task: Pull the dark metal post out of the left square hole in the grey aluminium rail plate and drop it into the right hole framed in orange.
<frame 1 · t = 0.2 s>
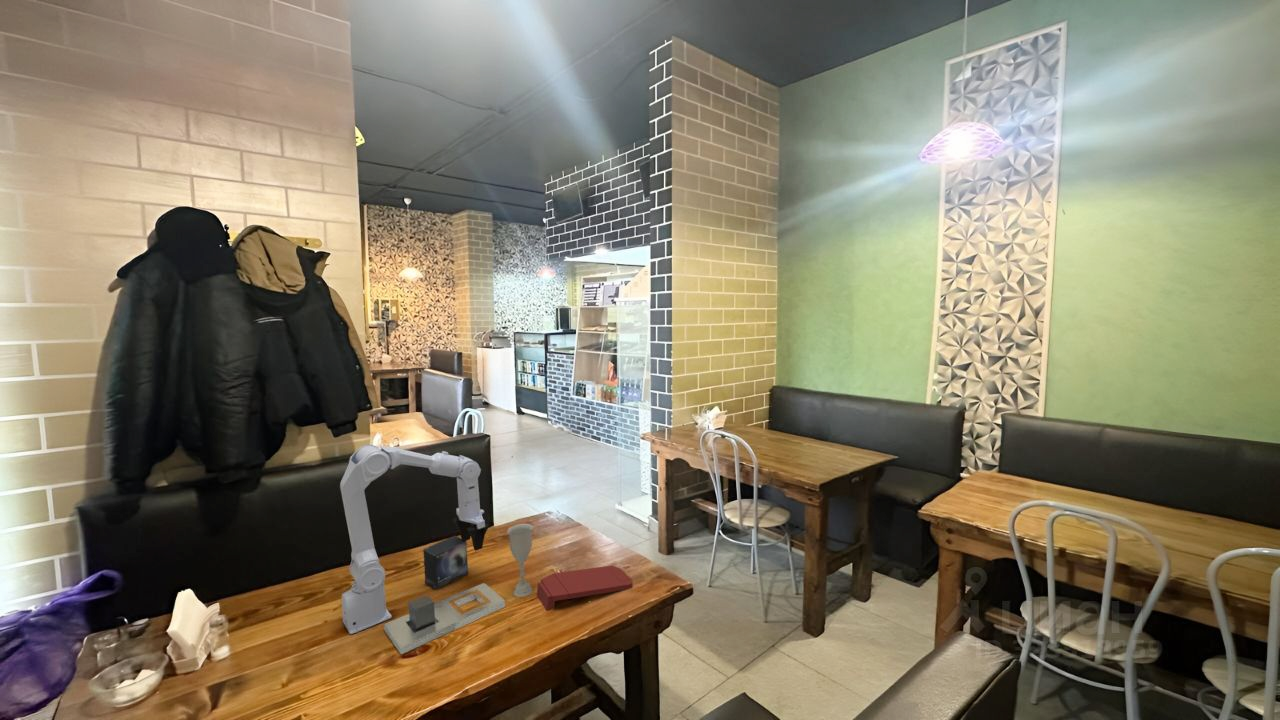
hand: (472, 544, 142), 10 cm above the table, tool pointing down, fingers open, 7 cm apart
rail plate: (447, 618, 125), on the table
post: (422, 629, 121), resting in rail plate
carton: (585, 591, 137), on the table
small box: (447, 579, 144), on the table, touching gripper
chalice: (523, 592, 136), on the table
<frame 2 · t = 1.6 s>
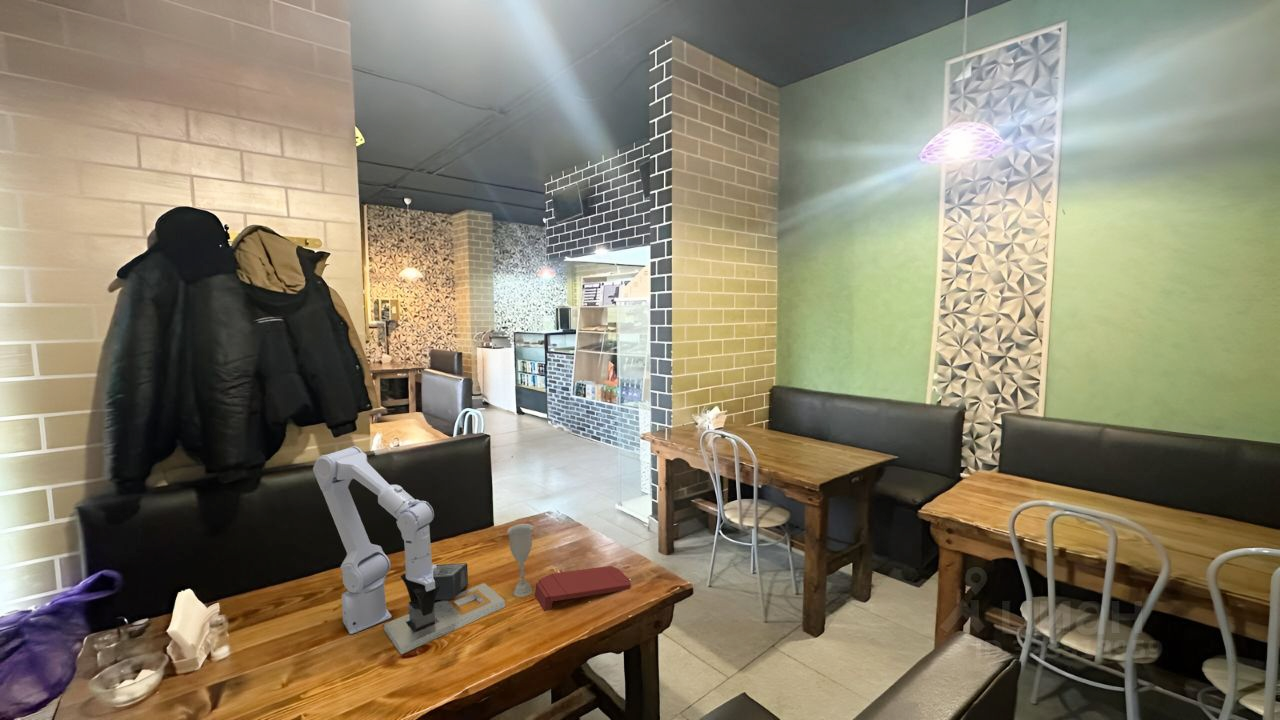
hand: (421, 607, 120), 6 cm above the table, tool pointing down, fingers open, 7 cm apart
small box: (450, 575, 140), point 3 cm above the table, touching rail plate
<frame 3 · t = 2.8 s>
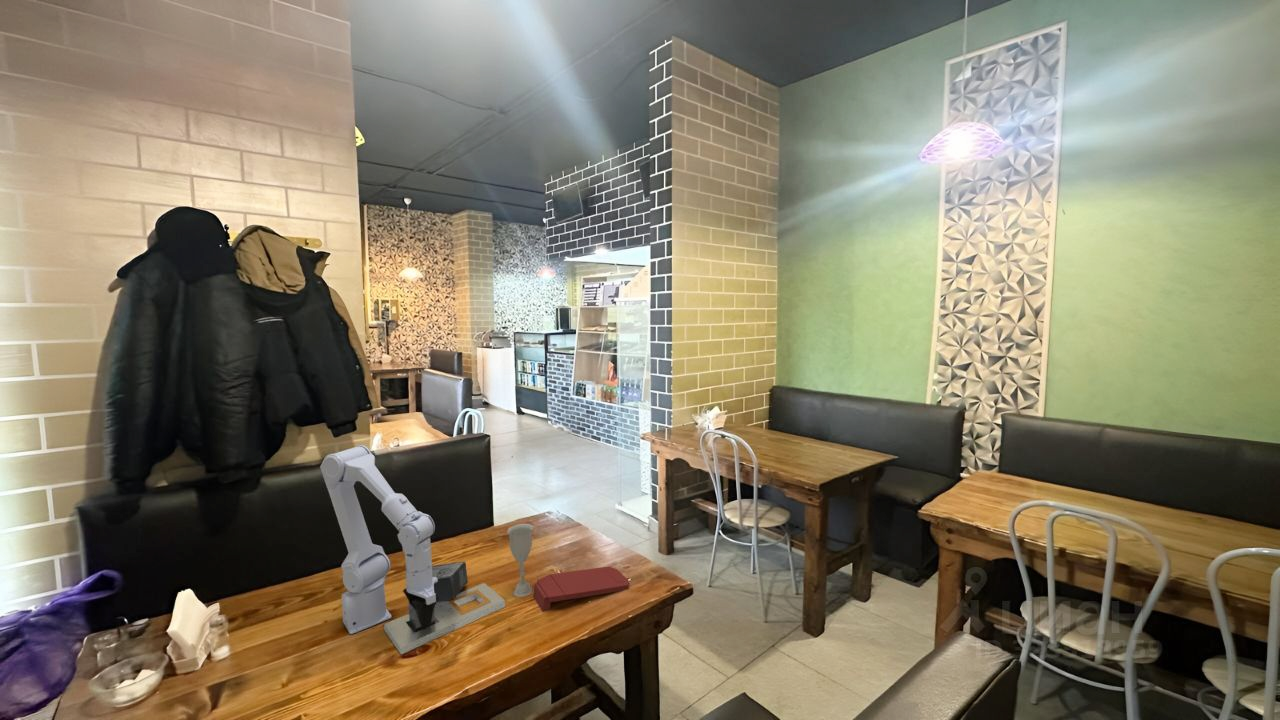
hand: (422, 619, 120), 2 cm above the table, tool pointing down, fingers closed on post, 4 cm apart
post: (422, 629, 121), resting in rail plate, touching gripper
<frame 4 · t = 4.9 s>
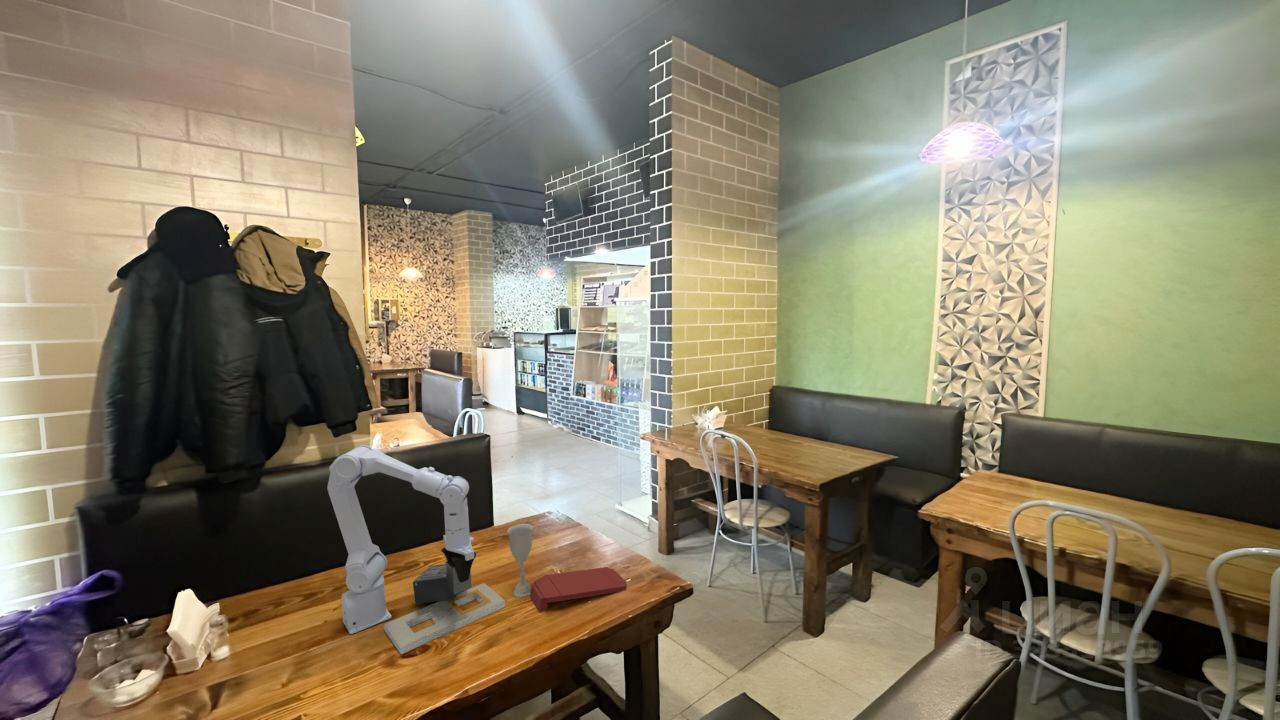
hand: (460, 577, 126), 10 cm above the table, tool pointing down, fingers closed on post, 4 cm apart
post: (459, 587, 126), point 7 cm above the table, touching gripper
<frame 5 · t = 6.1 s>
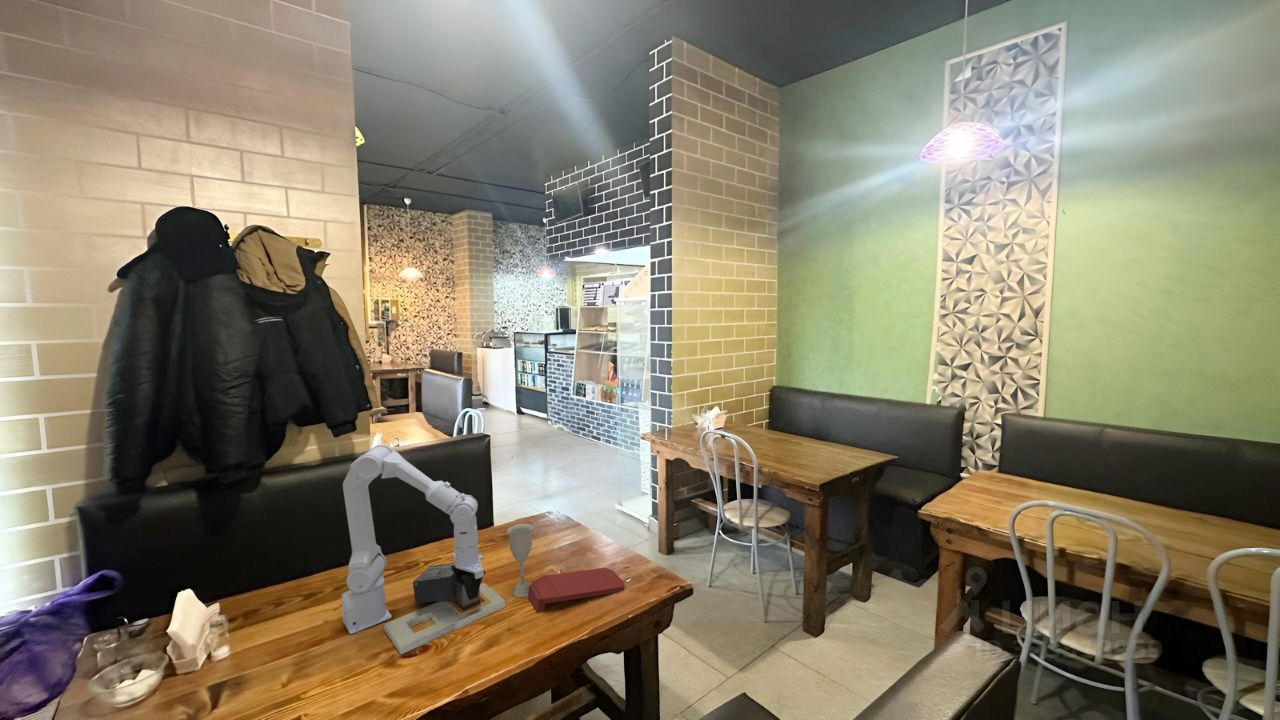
hand: (469, 594, 128), 4 cm above the table, tool pointing down, fingers closed on post, 4 cm apart
post: (468, 604, 128), point 1 cm above the table, touching gripper
when the fingers open (3 cm above the table, at t = 7.1 s): post stays where it is, resting in rail plate.
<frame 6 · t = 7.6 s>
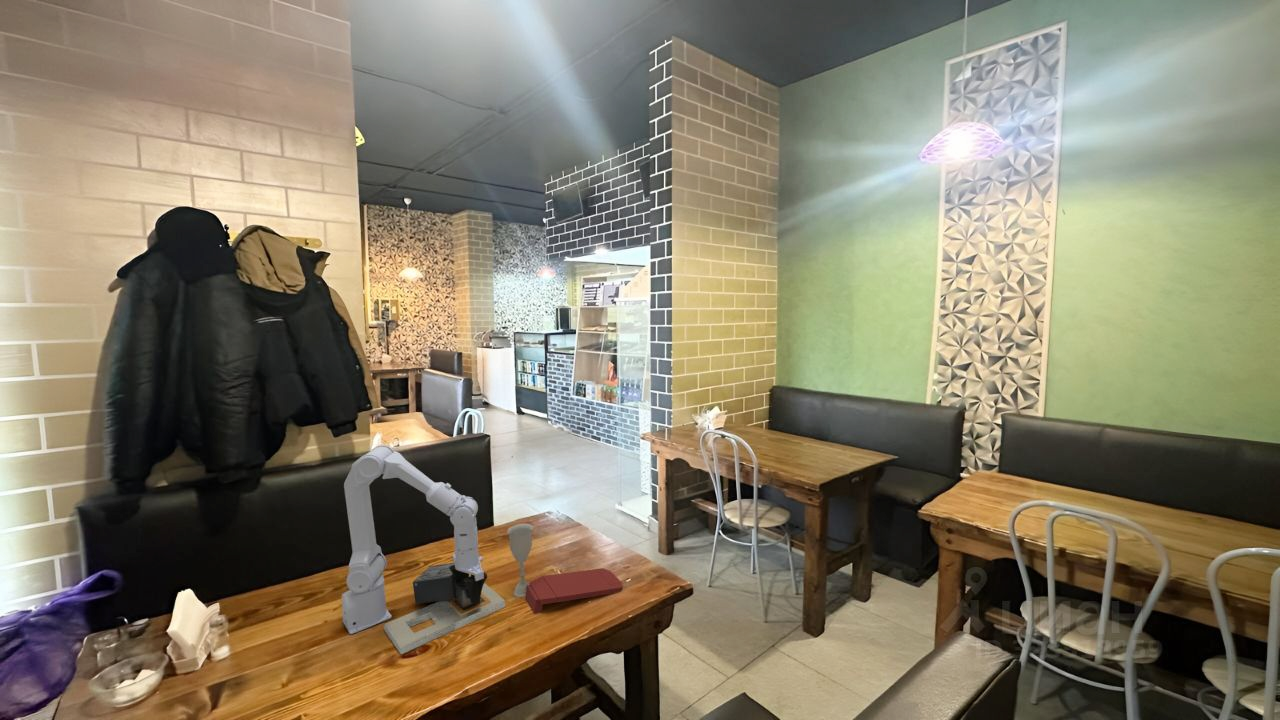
hand: (469, 596, 128), 3 cm above the table, tool pointing down, fingers open, 7 cm apart
post: (468, 609, 129), resting in rail plate
small box: (449, 574, 140), point 3 cm above the table, touching gripper, rail plate
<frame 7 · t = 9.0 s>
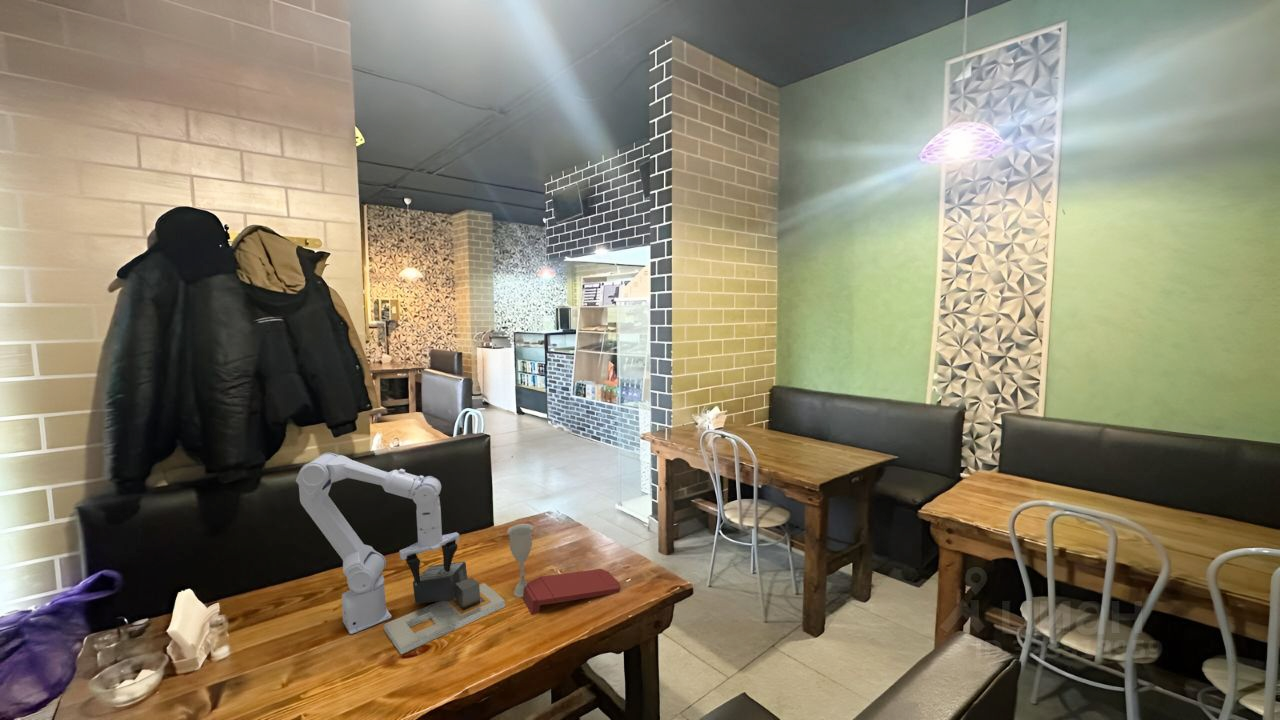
hand: (432, 576, 127), 9 cm above the table, tool pointing down, fingers open, 7 cm apart
small box: (449, 574, 140), point 3 cm above the table, touching rail plate
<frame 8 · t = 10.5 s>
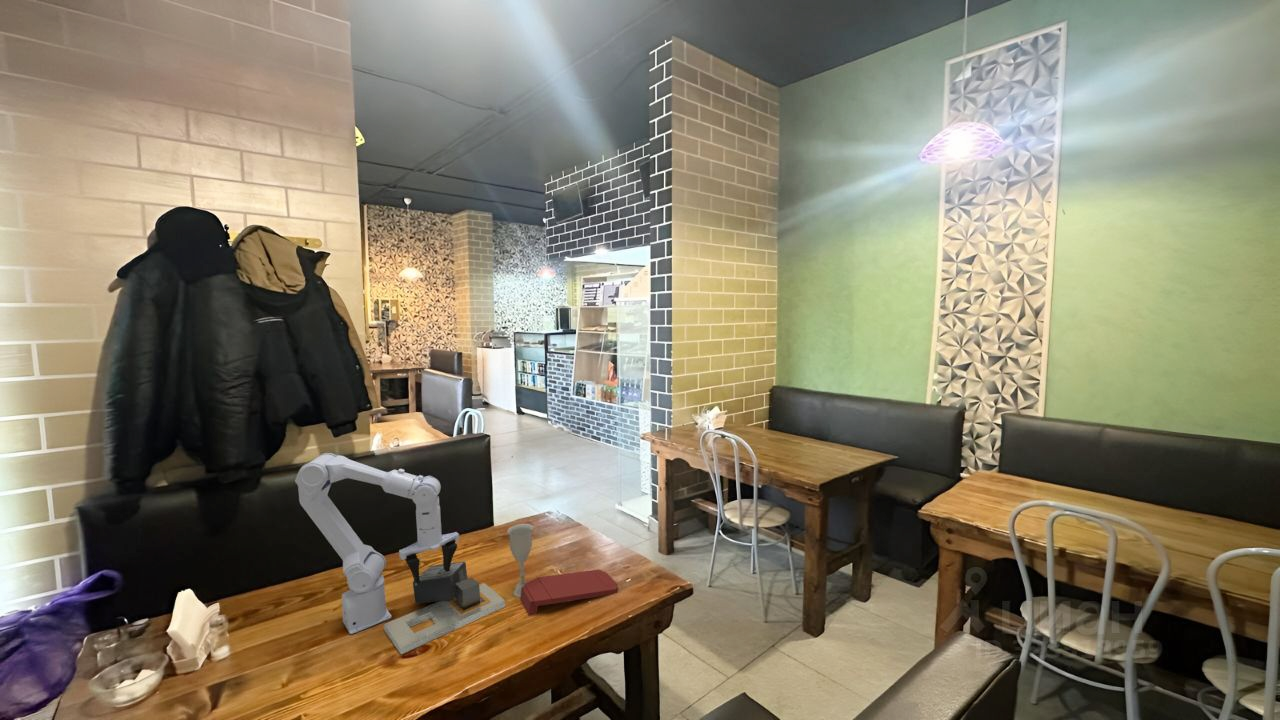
hand: (432, 575, 127), 9 cm above the table, tool pointing down, fingers open, 7 cm apart
at the end: post 0.3 cm from the target spot on the rail plate, point 0.0 cm above the rail plate's base; post tilted 0°; the gripper is holding nothing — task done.
